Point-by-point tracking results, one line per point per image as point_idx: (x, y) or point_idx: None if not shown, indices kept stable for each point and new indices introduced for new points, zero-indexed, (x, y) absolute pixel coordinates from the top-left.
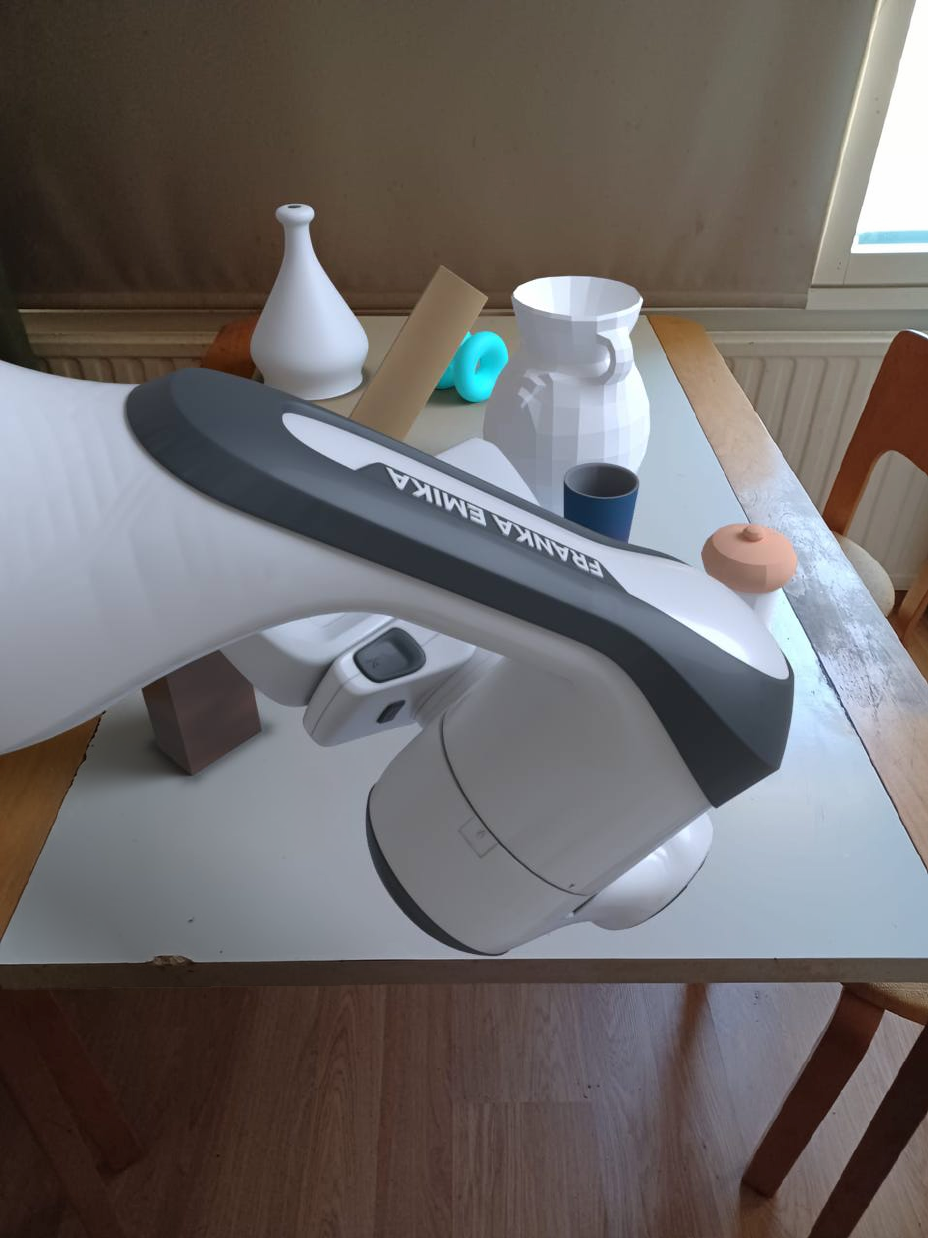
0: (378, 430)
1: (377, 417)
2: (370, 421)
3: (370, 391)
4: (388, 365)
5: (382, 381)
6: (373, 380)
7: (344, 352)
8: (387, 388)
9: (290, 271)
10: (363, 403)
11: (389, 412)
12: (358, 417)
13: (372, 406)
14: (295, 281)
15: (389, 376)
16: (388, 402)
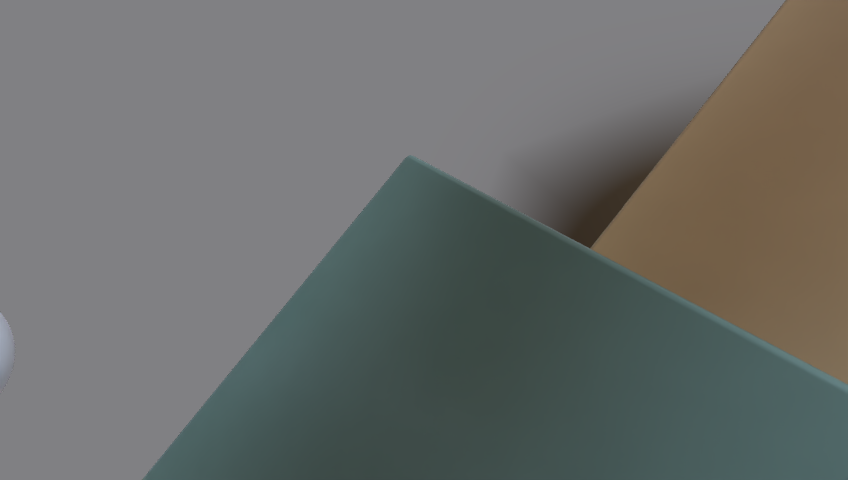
0: (762, 280)
1: (754, 216)
2: (712, 240)
3: (715, 118)
4: (814, 4)
5: (783, 70)
6: (732, 78)
7: None
8: (814, 83)
9: None
10: (676, 168)
11: (837, 184)
12: (644, 225)
13: (724, 173)
14: None
15: (824, 40)
16: (825, 139)
